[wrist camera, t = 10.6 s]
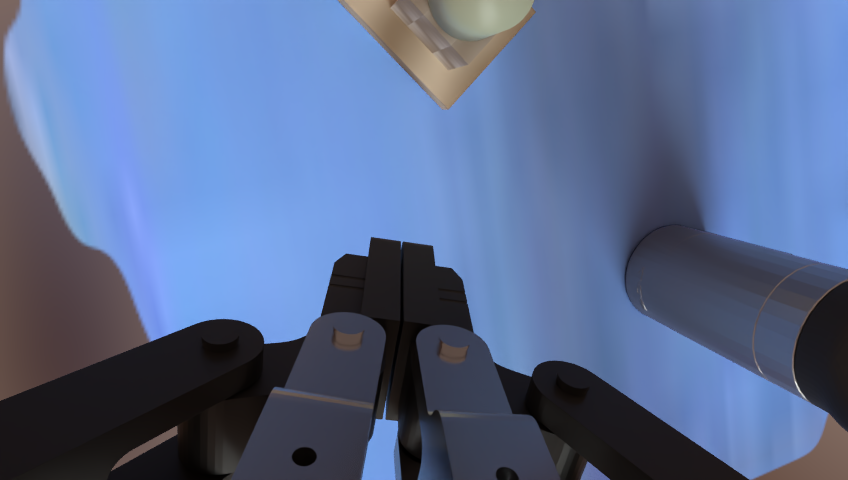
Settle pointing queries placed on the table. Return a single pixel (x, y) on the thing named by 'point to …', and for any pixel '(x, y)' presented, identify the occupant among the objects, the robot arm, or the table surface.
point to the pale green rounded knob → (478, 16)
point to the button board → (420, 56)
